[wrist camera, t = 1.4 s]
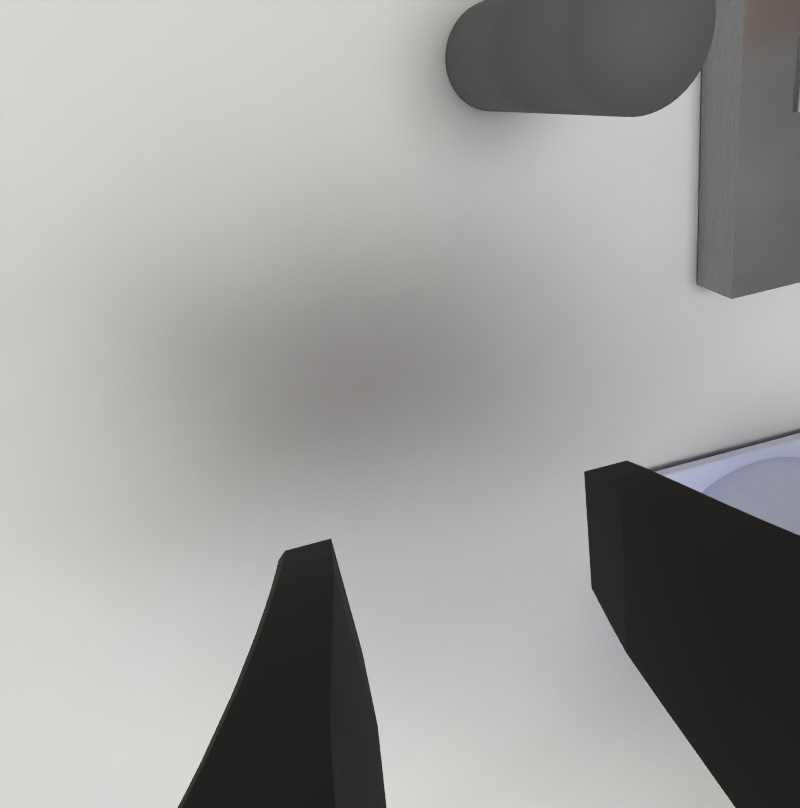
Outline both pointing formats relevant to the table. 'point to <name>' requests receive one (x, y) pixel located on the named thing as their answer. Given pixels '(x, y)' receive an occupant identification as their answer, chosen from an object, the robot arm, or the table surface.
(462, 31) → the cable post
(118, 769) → the table surface
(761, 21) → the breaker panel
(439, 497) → the table surface
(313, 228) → the table surface
